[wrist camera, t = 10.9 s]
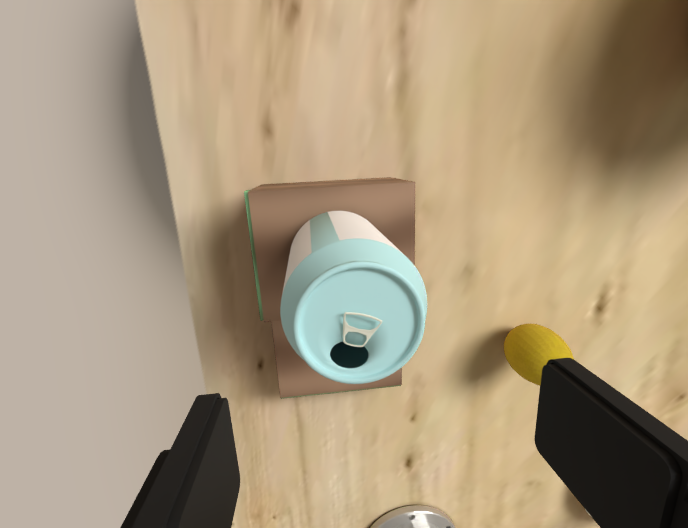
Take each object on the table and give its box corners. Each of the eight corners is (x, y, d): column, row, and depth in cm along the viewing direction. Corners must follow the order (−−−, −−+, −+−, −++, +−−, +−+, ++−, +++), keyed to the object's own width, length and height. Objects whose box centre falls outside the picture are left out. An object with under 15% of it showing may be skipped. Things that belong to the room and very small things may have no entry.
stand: (392, 365, 39) (413, 415, 31) (280, 376, 38) (274, 431, 30) (390, 177, 33) (415, 182, 26) (258, 184, 32) (243, 191, 25)
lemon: (481, 348, 40) (523, 392, 32) (506, 305, 38) (555, 341, 31) (521, 362, 41) (571, 409, 33) (546, 321, 40) (604, 360, 32)
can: (395, 279, 28) (458, 363, 16) (311, 312, 28) (315, 419, 16) (364, 194, 25) (412, 221, 14) (274, 230, 26) (248, 286, 14)
